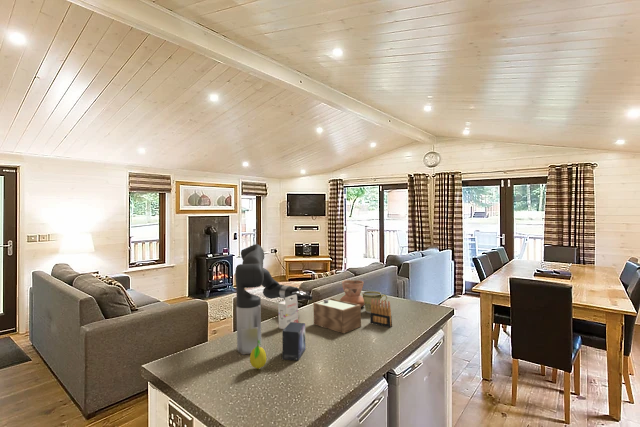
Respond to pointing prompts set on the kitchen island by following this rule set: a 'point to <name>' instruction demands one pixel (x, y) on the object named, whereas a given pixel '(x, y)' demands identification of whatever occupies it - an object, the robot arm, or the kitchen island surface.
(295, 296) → the ink cartridge box
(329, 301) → the lid
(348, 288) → the ceramic jug
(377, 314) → the ammunition clip
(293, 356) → the small box
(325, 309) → the wooden box
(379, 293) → the ceramic cup
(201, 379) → the kitchen island surface
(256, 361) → the lemon
